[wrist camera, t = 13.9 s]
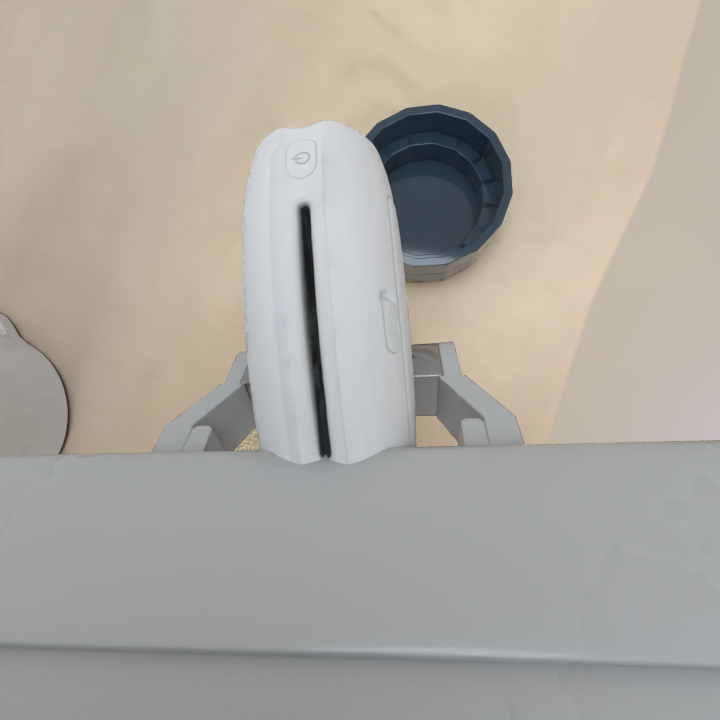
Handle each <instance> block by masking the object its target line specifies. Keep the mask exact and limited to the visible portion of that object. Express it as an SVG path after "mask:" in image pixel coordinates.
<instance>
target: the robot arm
mask: <svg viewBox="0 0 720 720" xmlns="http://www.w3.org/2000/svg"><path fill="white" fill-rule="evenodd" d="M411 349H412V362H413V376H414V392H415V412H416V416H437V418H438V419H439V420H440V421H441V423H442V424H443V425H444V426H445V427H446V429H447V430H448V431H449V432H450V433H451V435H452V436H453V437H454V438H455V439H456V440H457V442H458V446H438V447H391V448H387V449H384V450H382V451H380V452H378V453H377V454H375V455H373V456H371V457H369V458H366V459H364V460H362V461H359V462H356V463H352V464H343V463H339V462H335V461H332V460H329V459H328V457H327V455H324V457H323V458H322V459H321V460H318V461H315V462H312V463H308V464H303V465H302V464H297V463H294V462H291V461H288V460H285V459H283V458H281V457H279V456H277V455H276V454H274V453H273V452H271V451H268V450H247V451H234V450H235V449H236V448H237V447H238V446H239V445H240V443H241V442H242V441H243V440H244V439H245V438H246V437H247V436H248V435H249V434H250V432H251V431H252V430H253V429H254V428H255V427H256V424H255V418H254V411H253V404H252V396H251V388H250V380H249V372H248V361H247V352H239V353H238V354H237V356H236V358H235V360H234V363H233V365H232V367H231V370H230V372H229V375H228V377H227V379H226V382H225V384H221V385H219V386H218V387H216V388H215V389H214V390H212V391H211V392H210V393H208V394H207V395H206V396H204V397H203V398H202V399H200V400H199V401H198V402H196V403H195V404H194V405H193V406H191V407H190V408H189V409H187V410H186V411H185V412H183V413H182V414H181V415H179V416H178V417H177V418H175V419H174V420H173V421H171V422H170V423H169V424H167V425H166V426H165V428H164V430H163V432H162V434H161V436H160V438H159V439H158V441H157V443H156V445H155V447H154V449H153V451H152V453H106V454H59V452H60V450H61V447H62V445H63V442H64V438H65V434H66V429H67V419H68V409H67V400H66V395H65V391H64V388H63V385H62V382H61V380H60V377H59V375H58V373H57V372H56V370H55V368H54V367H53V365H52V364H51V363H50V362H49V360H48V359H47V358H46V357H45V356H44V355H43V354H42V353H41V352H39V351H38V350H37V349H35V348H34V347H32V346H31V345H29V344H28V343H27V342H25V341H24V340H23V339H22V338H21V337H20V336H19V335H18V333H17V331H16V329H15V328H14V326H13V325H12V323H11V322H10V320H9V319H8V318H7V317H6V316H5V315H3V314H1V313H0V720H720V440H712V441H668V442H621V443H577V444H576V443H572V444H526V445H525V443H524V440H523V437H522V434H521V431H520V428H519V424H518V421H517V418H516V416H515V415H514V414H512V413H511V412H510V411H509V410H508V409H506V408H505V407H504V406H503V405H501V404H500V403H499V402H498V401H497V400H495V399H494V398H493V397H492V396H490V395H489V394H488V393H487V392H486V391H484V390H483V389H482V388H481V387H479V386H478V385H477V384H476V383H475V382H473V381H472V380H471V379H470V378H468V377H467V376H466V375H461V372H460V368H459V363H458V358H457V354H456V349H455V344H454V343H453V342H443V343H432V344H413V345H411Z"/></svg>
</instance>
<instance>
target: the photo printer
mask: <svg viewBox="0 0 720 720" xmlns="http://www.w3.org/2000/svg"><path fill="white" fill-rule="evenodd" d="M242 284H243V306H244V321H245V338H246V350H247V361H248V372H249V380H250V388H251V396H252V404H253V411H254V418H255V424H256V429H257V435H258V440H259V446H260V450H268V451H271V452H273V453H274V454H276V455H277V456H279V457H281V458H283V459H285V460H288V461H291V462H294V463H297V464H302V465H303V464H308V463H312V462H315V461H318V460H321V459H322V458H323V457H324V455H327V457H328V459H329V460H332V461H335V462H339V463H343V464H352V463H356V462H359V461H362V460H364V459H366V458H369V457H371V456H373V455H375V454H377V453H378V452H380V451H382V450H384V449H387V448H391V447H416V412H415V392H414V376H413V362H412V349H411V336H410V325H409V315H408V302H407V293H406V283H405V274H404V265H403V257H402V249H401V240H400V233H399V226H398V220H397V215H396V209H395V205H394V203H393V197H392V192H391V188H390V184H389V181H388V177H387V174H386V171H385V168H384V166H383V163H382V161H381V158H380V156H379V153H378V151H377V149H376V148H375V146H374V145H373V143H372V142H371V141H369V140H368V139H367V138H366V137H365V136H364V135H363V134H362V133H360V132H359V131H357V130H355V129H353V128H351V127H349V126H347V125H344V124H341V123H338V122H336V121H331V120H323V121H320V122H318V123H315V124H313V125H311V126H307V127H302V128H285V127H282V128H279V129H277V130H275V131H273V132H271V133H270V134H269V135H268V136H267V137H266V138H265V139H264V140H263V141H262V142H261V143H260V145H259V147H258V148H257V150H256V152H255V155H254V159H253V162H252V165H251V169H250V173H249V177H248V182H247V186H246V193H245V200H244V214H243V234H242Z"/></svg>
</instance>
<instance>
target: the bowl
mask: <svg viewBox="0 0 720 720" xmlns="http://www.w3.org/2000/svg"><path fill="white" fill-rule="evenodd" d="M366 138H367V139H368V140H369V141H371V142H372V143H373V145H374V146H375V148H376V149H377V151H378V153H379V156H380V158H381V161H382V163H383V166H384V168H385V171H386V174H387V177H388V181H389V184H390V188H391V192H392V197H393V203H394V205H395V209H396V215H397V220H398V226H399V233H400V240H401V249H402V257H403V265H404V274H405V280H408V281H411V282H422V281H437V280H443V279H445V278H447V277H450V276H452V275H454V274H456V273H458V272H460V271H462V270H464V269H466V268H468V267H469V266H470V265H471V264H472V263H473V262H474V261H475V260H476V258H477V257H478V256H479V255H480V254H481V253H482V252H483V251H484V250H485V249H486V248H487V246H488V245H489V243H490V242H491V240H492V239H493V237H494V235H495V234H496V232H497V231H498V229H499V228H500V226H501V224H502V222H503V219H504V216H505V214H506V211H507V208H508V205H509V202H510V200H511V197H512V193H513V192H512V177H511V162H510V159H509V158H508V156H507V154H506V152H505V150H504V148H503V146H502V144H501V142H500V140H499V139H498V137H497V135H496V133H495V132H494V131H492V130H491V129H490V128H489V127H487V126H486V125H485V124H484V123H482V122H481V121H480V120H479V119H477V118H476V117H475V116H474V115H472V114H470V113H468V112H465V111H461V110H458V109H454V108H450V107H447V106H443V105H429V106H420V107H411V108H406V109H404V110H402V111H400V112H398V113H396V114H394V115H392V116H390V117H388V118H386V119H384V120H382V121H381V122H379V123H377V124H376V125H375V126H374V128H373V129H372V130H371V131H370V132H369V133H368V134H367V135H366Z"/></svg>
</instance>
